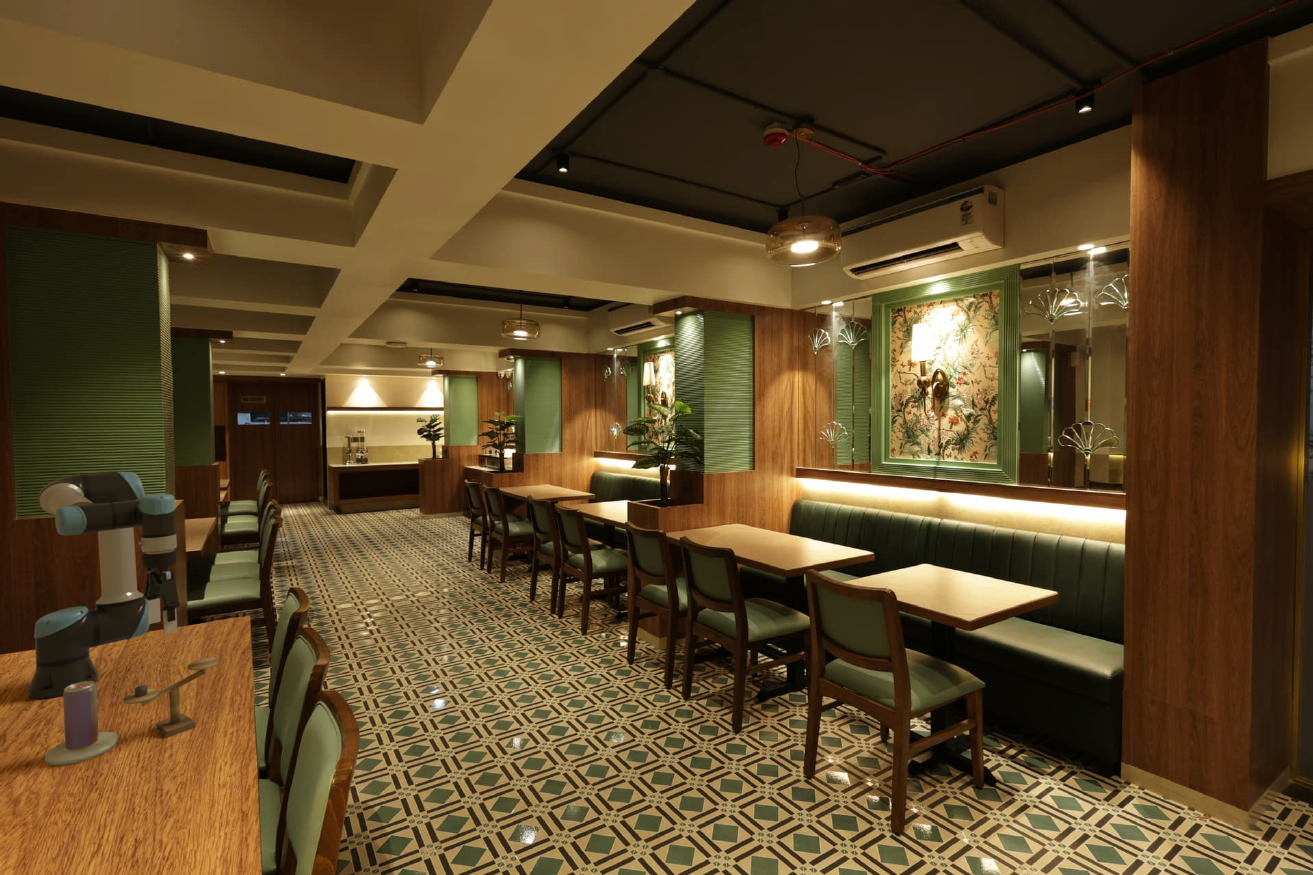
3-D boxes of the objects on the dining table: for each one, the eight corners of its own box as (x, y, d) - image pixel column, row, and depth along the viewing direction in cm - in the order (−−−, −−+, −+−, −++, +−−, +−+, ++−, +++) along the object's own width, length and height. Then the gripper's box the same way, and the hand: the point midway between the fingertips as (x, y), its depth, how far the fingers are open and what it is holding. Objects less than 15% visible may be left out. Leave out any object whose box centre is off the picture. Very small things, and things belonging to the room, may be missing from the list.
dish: (39, 754, 148) (38, 749, 148) (108, 731, 159) (108, 726, 159) (52, 771, 141) (52, 766, 141) (125, 746, 151) (124, 741, 151)
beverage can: (78, 753, 146) (75, 692, 146) (58, 750, 147) (56, 690, 147) (105, 740, 152) (102, 681, 152) (86, 737, 153) (83, 679, 153)
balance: (120, 740, 154) (117, 682, 154) (214, 707, 171) (212, 655, 170) (130, 750, 150) (128, 690, 149) (226, 715, 167) (224, 661, 166)
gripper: (127, 547, 170) (130, 622, 171) (157, 559, 156) (160, 641, 156) (161, 543, 176) (164, 615, 177) (192, 554, 162) (195, 632, 163)
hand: (162, 627), depth 167 cm, fingers open, 13 cm apart
